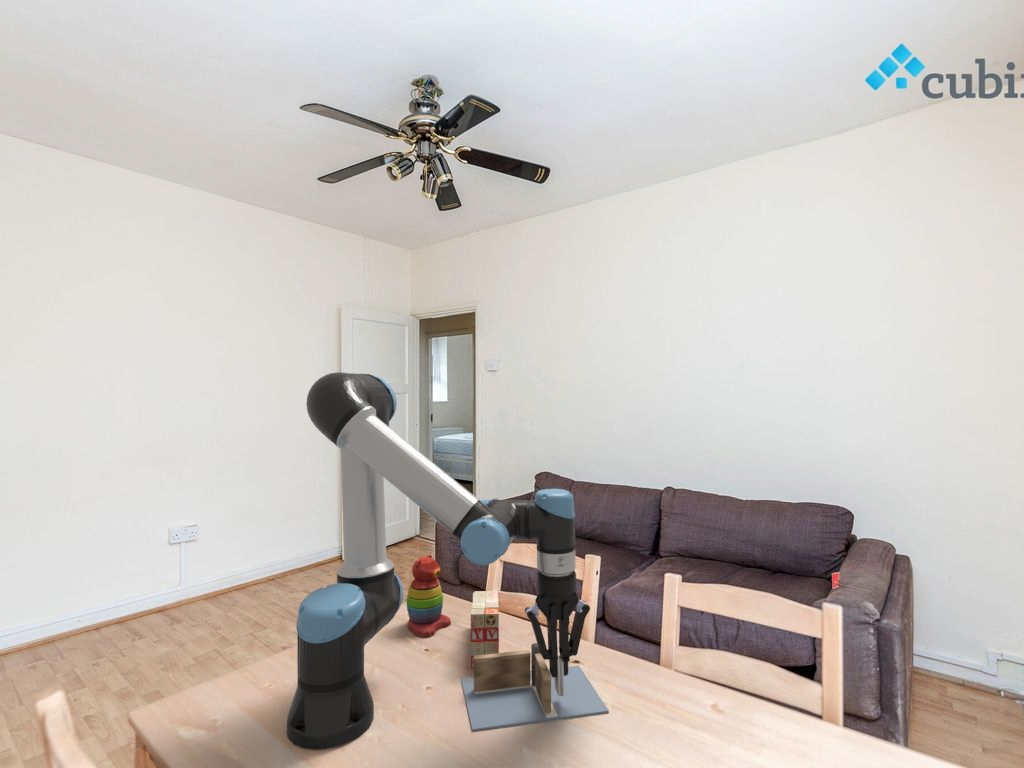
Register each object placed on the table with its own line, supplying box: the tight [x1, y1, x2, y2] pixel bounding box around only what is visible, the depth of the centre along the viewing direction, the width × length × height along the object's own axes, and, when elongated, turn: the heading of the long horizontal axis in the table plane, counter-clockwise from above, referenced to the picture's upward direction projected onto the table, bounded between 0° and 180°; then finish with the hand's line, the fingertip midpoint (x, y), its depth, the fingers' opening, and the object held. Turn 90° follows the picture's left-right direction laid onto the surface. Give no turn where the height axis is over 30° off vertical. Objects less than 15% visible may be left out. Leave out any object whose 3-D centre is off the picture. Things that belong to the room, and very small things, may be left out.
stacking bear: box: [406, 554, 452, 638], centre depth 138 cm, size 11×10×18 cm
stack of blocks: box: [470, 590, 500, 670], centre depth 127 cm, size 21×6×12 cm, turn 2°
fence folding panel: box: [535, 653, 552, 713], centre depth 103 cm, size 9×1×7 cm, turn 9°
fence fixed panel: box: [473, 642, 540, 692], centre depth 108 cm, size 14×2×8 cm, turn 102°
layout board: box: [460, 665, 610, 732], centre depth 106 cm, size 26×17×1 cm, turn 102°
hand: (559, 691), depth 103 cm, fingers closed
